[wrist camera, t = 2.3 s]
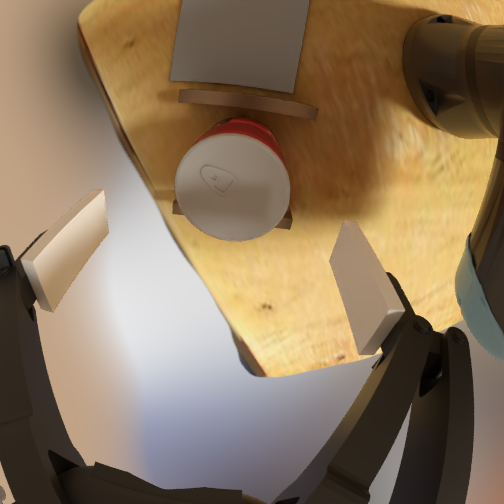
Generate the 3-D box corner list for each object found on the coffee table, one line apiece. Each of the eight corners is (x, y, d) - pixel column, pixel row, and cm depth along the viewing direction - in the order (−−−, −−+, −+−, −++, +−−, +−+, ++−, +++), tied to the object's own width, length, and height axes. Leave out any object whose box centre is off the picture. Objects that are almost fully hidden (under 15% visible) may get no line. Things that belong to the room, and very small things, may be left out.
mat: (310, -9, 16) (311, -10, 16) (292, 93, 23) (292, 93, 23) (188, -20, 16) (187, -21, 15) (170, 80, 22) (169, 80, 22)
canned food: (218, 104, 24) (193, 117, 15) (292, 135, 26) (312, 166, 17) (192, 171, 28) (160, 219, 19) (261, 197, 30) (262, 256, 21)
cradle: (310, 105, 24) (318, 108, 21) (287, 214, 31) (290, 229, 28) (189, 88, 23) (179, 89, 20) (180, 199, 30) (172, 213, 27)
